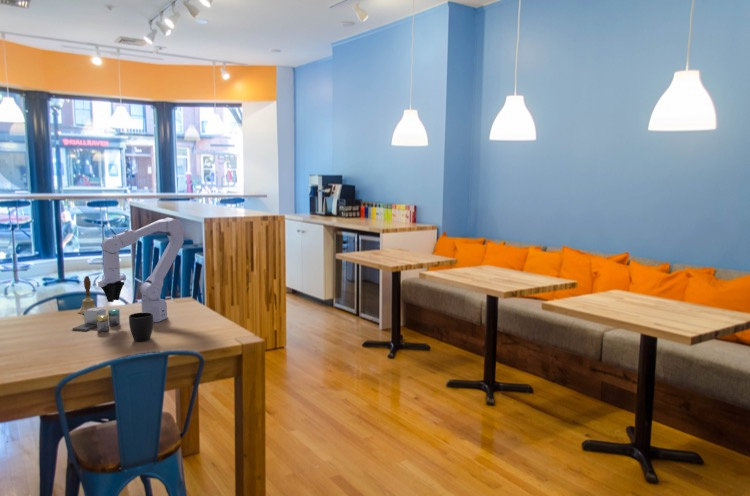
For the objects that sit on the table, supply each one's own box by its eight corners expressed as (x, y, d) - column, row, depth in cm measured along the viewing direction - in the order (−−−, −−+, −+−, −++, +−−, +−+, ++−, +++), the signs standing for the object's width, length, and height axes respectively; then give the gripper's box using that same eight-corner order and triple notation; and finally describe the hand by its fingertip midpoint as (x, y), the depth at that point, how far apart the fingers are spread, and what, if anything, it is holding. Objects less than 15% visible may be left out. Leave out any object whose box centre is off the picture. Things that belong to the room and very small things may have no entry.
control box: (106, 323, 226) (105, 308, 225) (98, 326, 221) (97, 311, 220) (92, 322, 227) (91, 307, 226) (84, 325, 222) (83, 310, 222)
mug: (159, 333, 214) (158, 309, 213) (150, 343, 202) (149, 317, 201) (137, 333, 213) (136, 309, 212) (126, 343, 202) (125, 317, 200)
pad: (96, 327, 221) (96, 325, 220) (86, 331, 215) (86, 329, 215) (83, 326, 222) (83, 324, 221) (72, 330, 216) (72, 328, 216)
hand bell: (102, 309, 247) (101, 274, 245) (91, 314, 239) (89, 278, 236) (85, 309, 248) (83, 274, 245) (73, 313, 240) (71, 277, 237)
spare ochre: (111, 330, 217) (110, 315, 216) (104, 333, 213) (103, 318, 212) (101, 329, 218) (101, 314, 217) (94, 332, 214) (94, 317, 213)
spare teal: (122, 323, 226) (121, 309, 225) (115, 326, 222) (115, 312, 221) (113, 323, 227) (112, 308, 226) (106, 325, 223) (106, 311, 222)
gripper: (114, 264, 229) (116, 296, 231) (90, 270, 215) (92, 304, 217) (129, 265, 228) (131, 297, 230) (106, 271, 213) (108, 305, 215)
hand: (113, 300), depth 223 cm, fingers open, 3 cm apart
